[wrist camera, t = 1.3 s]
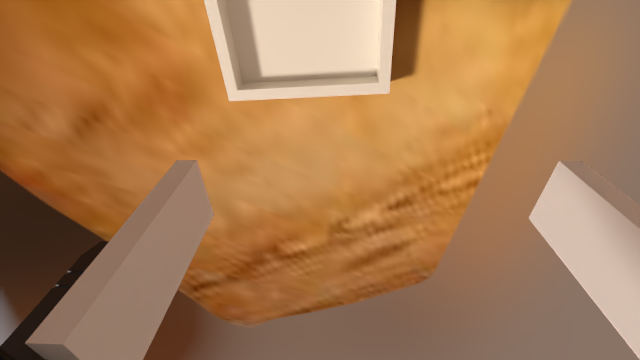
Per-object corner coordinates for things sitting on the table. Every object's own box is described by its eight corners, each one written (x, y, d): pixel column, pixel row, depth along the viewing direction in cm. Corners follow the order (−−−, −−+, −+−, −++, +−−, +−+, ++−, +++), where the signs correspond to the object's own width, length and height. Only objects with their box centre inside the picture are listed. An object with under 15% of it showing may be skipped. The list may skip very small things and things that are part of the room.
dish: (191, -111, 22) (173, -122, 19) (398, -133, 20) (407, -147, 18) (237, 90, 30) (229, 101, 28) (384, 83, 29) (389, 93, 27)
